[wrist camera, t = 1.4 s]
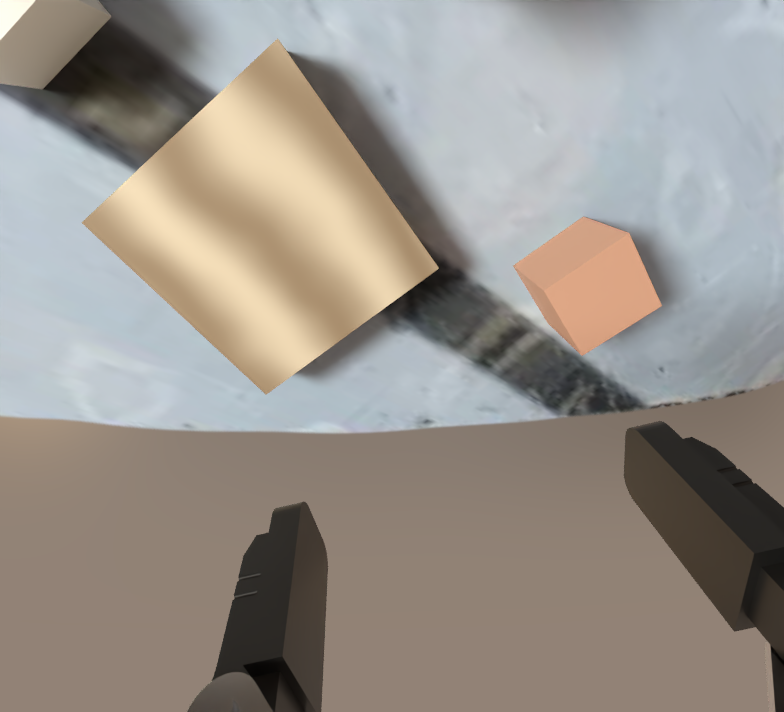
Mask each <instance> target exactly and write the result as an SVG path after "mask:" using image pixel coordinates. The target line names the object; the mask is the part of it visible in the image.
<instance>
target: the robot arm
mask: <svg viewBox="0 0 784 712" xmlns="http://www.w3.org/2000/svg"><path fill="white" fill-rule="evenodd" d="M624 463H625V465H624V478H625V483H626V486H627V488H628V491H629V493H630V495H631V497H632V499H633V500H634V501H635V503H636V504H637V505H638V507H639V508H640V509H641V511H642V512H643V513H644V514H645V516H646V517H647V518H648V519H649V521H650V522H651V524H652V525H653V526H654V527H655V529H656V530H657V531H658V533H659V534H660V535H661V537H662V538H663V539H664V541H665V542H666V543H667V544H668V546H669V547H670V548H671V550H672V551H673V552H674V554H675V555H676V556H677V557H678V559H679V560H680V561H681V563H682V564H683V565H684V567H685V568H686V569H687V570H688V572H689V573H690V574H691V576H692V577H693V578H694V579H695V581H696V582H697V584H699V586H700V587H701V589H702V590H703V591H704V593H705V594H706V595H707V596H708V598H709V599H710V600H711V602H712V603H713V604H714V606H715V607H716V608H717V610H718V611H719V612H720V614H721V615H722V616H723V617H724V619H725V620H726V621H727V622H728V624H729V625H730V627H731V628H732V629H733V630H734V631H739V630H744V629H748V628H753V627H756V628H757V629H758V630H759V631H760V632H761V634H762V635H763V636H764V637H765V639H766V640H767V641H766V645H765V658H766V673H767V688H768V703H769V712H784V507H782V506H781V505H780V504H779V503H778V502H777V501H776V500H774V499H773V498H772V497H771V496H770V495H769V494H768V493H766V492H765V491H764V490H763V489H762V488H761V487H759V486H758V485H757V484H756V483H755V484H753V482H752V480H751V479H750V478H749V477H748V476H747V475H746V474H745V473H743V472H742V471H741V470H740V469H737V468H736V466H735V465H734V464H733V463H732V462H731V461H730V460H728V459H727V458H726V457H725V456H724V455H722V453H720V452H719V451H718V450H717V449H715V448H713V447H711V446H709V445H707V444H705V443H703V442H701V441H699V440H697V439H695V438H693V437H690V438H685V439H682V438H681V437H680V436H679V435H678V434H677V433H676V432H675V431H674V430H673V429H672V428H670V427H669V426H668V425H667V424H666V423H664V422H662V421H658V422H654V423H649V424H645V425H641V426H636V427H632V428H629V429H627V431H626V437H625V462H624ZM327 574H328V561H327V553H326V548H325V545H324V542H323V539H322V537H321V534H320V532H319V530H318V527H317V525H316V523H315V521H314V518H313V516H312V514H311V511H310V509H309V507H308V505H307V503H306V502H301V503H297V504H292V505H289V506H284V507H279V508H276V509H274V511H273V514H272V518H271V524H270V529H269V533H265V534H261V535H257V536H256V537H255V539H254V540H253V542H252V544H251V545H250V547H249V548H248V550H247V551H246V553H245V555H244V556H243V561H242V565H241V569H240V573H239V581H238V582H237V585H236V589H235V593H234V597H235V599H234V600H233V602H232V606H231V610H230V614H229V618H228V622H227V626H226V631H225V634H224V638H223V642H222V647H221V651H220V655H219V659H218V663H217V667H216V671H215V674H214V677H213V679H212V682H210V683H209V684H208V685H207V686H206V687H205V688H204V689H203V690H202V691H201V692H200V693H199V694H198V695H197V696H196V698H195V699H194V701H193V702H192V704H191V705H190V707H189V709H188V711H187V712H321V702H322V681H323V661H324V638H325V617H326V596H327Z"/></svg>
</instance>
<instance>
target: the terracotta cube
mask: <svg viewBox="0 0 784 712" xmlns="http://www.w3.org/2000/svg"><path fill="white" fill-rule="evenodd" d="M513 267H514V268H515V270H516V271H517V273H518V275H519V276H520V278H521V280H522V281H523V283H524V285H525V286H526V288H527V290H528V291H529V293H530V295H531V296H532V298H533V299H534V301H535V303H536V304H537V306H538V308H539V309H540V311H541V313H542V314H543V316H544V318H545V319H546V321H547V323H548V324H549V325H550V326H551V327H552V328H553V329H555V330H556V331H557V332H558V333H559V334H560V335H561V336H562V337H563V338H564V339H565V340H566V341H567V342H568V343H569V344H570V345H571V346H572V347H573V348H574V349H575V350H576V351H578V352H579V353H580V354H581V355H582V356H583V355H584V354H586V353H587V352H589V351H591V350H592V349H594V348H595V347H597V346H599V345H600V344H602V343H603V342H605V341H607V340H608V339H610V338H611V337H613V336H615V335H616V334H618V333H619V332H621V331H623V330H624V329H626V328H627V327H629V326H631V325H632V324H634V323H635V322H637V321H639V320H640V319H642V318H643V317H645V316H647V315H648V314H650V313H651V312H653V311H655V310H656V309H658V308H659V307H661V306H662V305H661V302H660V300H659V298H658V296H657V293H656V291H655V289H654V287H653V285H652V282H651V280H650V278H649V276H648V273H647V271H646V269H645V267H644V265H643V262H642V260H641V258H640V256H639V254H638V251H637V249H636V247H635V245H634V242H633V240H632V238H631V236H630V234H629V233H628V232H625V231H622V230H619V229H617V228H614V227H611V226H608V225H606V224H603V223H600V222H597V221H595V220H592V219H589V218H586V217H582V218H581V219H579V220H578V221H576V222H575V223H574V224H572V225H571V226H569V227H568V228H566V229H565V230H564V231H562V232H561V233H559V234H558V235H556V236H555V237H553V238H552V239H551V240H549V241H548V242H546V243H545V244H543V245H542V246H541V247H539V248H538V249H536V250H535V251H533V252H532V253H531V254H529V255H528V256H526V257H525V258H523V259H522V260H521V261H519V262H518V263H516V264H515V265H513Z"/></svg>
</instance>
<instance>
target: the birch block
mask: <svg viewBox="0 0 784 712" xmlns="http://www.w3.org/2000/svg"><path fill="white" fill-rule="evenodd" d="M82 224H84V225H85V226H86V227H87V228H88V229H89V230H90V231H91V232H92V233H93V234H94V235H95V236H96V237H97V238H99V239H100V240H101V241H102V242H103V243H104V244H105V245H106V246H107V247H108V248H109V249H110V250H111V251H112V252H114V253H115V254H116V255H117V256H118V257H119V258H120V259H121V260H122V261H123V262H124V263H125V264H126V265H128V266H129V267H130V268H131V269H132V270H133V271H134V272H135V273H136V274H137V275H138V276H139V277H140V278H141V279H143V280H144V281H145V282H146V283H147V284H148V285H149V286H150V287H151V288H152V289H153V290H154V291H155V292H156V293H158V294H159V295H160V296H161V297H162V298H163V299H164V300H165V301H166V302H167V303H168V304H169V305H170V306H172V307H173V308H174V309H175V310H176V311H177V312H178V313H179V314H180V315H181V316H182V317H183V318H184V319H185V320H187V321H188V322H189V323H190V324H191V325H192V326H193V327H194V328H195V329H196V330H197V331H198V332H199V333H200V334H202V335H203V336H204V337H205V338H206V339H207V340H208V341H209V342H210V343H211V344H212V345H213V346H214V347H215V348H217V349H218V350H219V351H220V352H221V353H222V354H223V355H224V356H225V357H226V358H227V359H228V360H229V361H231V362H232V363H233V364H234V365H235V366H236V367H237V368H238V369H239V370H240V371H241V372H242V373H243V374H244V375H246V376H247V377H248V378H249V379H250V380H251V381H252V382H253V383H254V384H255V385H256V386H257V387H258V388H259V389H261V390H262V391H263V392H264V393H265V394H268V393H269V392H270V391H272V390H273V389H274V388H276V387H277V386H279V385H280V384H281V383H283V382H284V381H285V380H287V379H288V378H290V377H291V376H292V375H294V374H295V373H296V372H298V371H299V370H301V369H302V368H303V367H305V366H306V365H307V364H309V363H310V362H311V361H313V360H314V359H316V358H317V357H318V356H320V355H321V354H322V353H324V352H325V351H327V350H328V349H329V348H331V347H332V346H333V345H335V344H336V343H338V342H339V341H340V340H342V339H343V338H344V337H346V336H347V335H348V334H350V333H351V332H353V331H354V330H355V329H357V328H358V327H359V326H361V325H362V324H364V323H365V322H366V321H368V320H369V319H370V318H372V317H373V316H375V315H376V314H377V313H379V312H380V311H381V310H383V309H384V308H385V307H387V306H388V305H390V304H391V303H392V302H394V301H395V300H396V299H398V298H399V297H401V296H402V295H403V294H405V293H406V292H407V291H409V290H410V289H412V288H413V287H414V286H416V285H417V284H418V283H420V282H421V281H422V280H424V279H425V278H427V277H428V276H429V275H431V274H432V273H433V272H435V271H436V270H438V269H439V268H438V266H437V265H436V263H435V262H434V260H433V259H432V257H431V256H430V254H429V253H428V252H427V250H426V249H425V247H424V246H423V245H422V243H421V242H420V240H419V239H418V237H417V236H416V235H415V233H414V232H413V230H412V229H411V227H410V226H409V225H408V223H407V222H406V220H405V219H404V217H403V216H402V215H401V213H400V212H399V210H398V209H397V207H396V206H395V205H394V203H393V202H392V200H391V199H390V197H389V196H388V195H387V193H386V192H385V190H384V189H383V188H382V186H381V185H380V183H379V182H378V180H377V179H376V178H375V176H374V175H373V173H372V172H371V170H370V169H369V168H368V166H367V165H366V163H365V162H364V160H363V159H362V158H361V156H360V155H359V153H358V152H357V150H356V149H355V148H354V146H353V145H352V143H351V142H350V141H349V139H348V138H347V136H346V135H345V133H344V132H343V131H342V129H341V128H340V126H339V125H338V123H337V122H336V121H335V119H334V118H333V116H332V115H331V113H330V112H329V111H328V109H327V108H326V106H325V105H324V103H323V102H322V101H321V99H320V98H319V96H318V95H317V93H316V92H315V91H314V89H313V88H312V86H311V85H310V84H309V82H308V81H307V79H306V78H305V76H304V75H303V74H302V72H301V71H300V69H299V68H298V66H297V65H296V64H295V62H294V61H293V59H292V58H291V56H290V55H289V54H288V52H287V51H286V49H285V48H284V47H283V45H282V44H281V43H280V41H279V40H278V39H277V40H276V41H275V42H273V43H272V44H271V45H270V46H269V47H268V48H267V49H266V50H265V51H264V52H263V53H262V54H261V55H260V56H259V57H258V58H256V59H255V60H254V61H253V62H252V63H251V64H250V65H249V66H248V67H247V68H246V69H245V70H244V71H243V72H242V73H240V74H239V75H238V76H237V77H236V78H235V79H234V80H233V81H232V82H231V83H230V84H229V85H228V86H227V87H226V88H225V89H223V90H222V91H221V92H220V93H219V94H218V95H217V96H216V97H215V98H214V99H213V100H212V101H211V102H210V103H209V104H207V105H206V106H205V107H204V108H203V109H202V110H201V111H200V112H199V113H198V114H197V115H196V116H195V117H194V118H193V119H192V120H190V121H189V122H188V123H187V124H186V125H185V126H184V127H183V128H182V129H181V130H180V131H179V132H178V133H177V134H176V135H174V136H173V137H172V138H171V139H170V140H169V141H168V142H167V143H166V144H165V145H164V146H163V147H162V148H161V149H160V150H159V151H157V152H156V153H155V154H154V155H153V156H152V157H151V158H150V159H149V160H148V161H147V162H146V163H145V164H144V165H143V166H141V167H140V168H139V169H138V170H137V171H136V172H135V173H134V174H133V175H132V176H131V177H130V178H129V179H128V180H127V181H126V182H124V183H123V184H122V185H121V186H120V187H119V188H118V189H117V190H116V191H115V192H114V193H113V194H112V195H111V196H110V197H108V198H107V199H106V200H105V201H104V202H103V203H102V204H101V205H100V206H99V207H98V208H97V209H96V210H95V211H94V212H93V213H91V214H90V215H89V216H88V217H87V218H86V219H85V220H84V221H83V222H82Z"/></svg>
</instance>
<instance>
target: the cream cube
mask: <svg viewBox="0 0 784 712" xmlns="http://www.w3.org/2000/svg"><path fill="white" fill-rule="evenodd" d="M111 17H112V16H111V15H110V14H109V13H108V11H107V10H106V9H105V8H104V7H103V5H102V4H101V3H100V2H99V1H98V0H0V83H1V84H8V85H15V86H23V87H30V88H37V89H43V88H44V87H45V86H46V85H47V84H48V83H49V82H50V81H51V80H52V79H53V78H54V77H55V76H56V75H57V74H58V73H59V72H60V71H61V69H62V68H63V67H64V66H65V65H66V64H67V63H68V62H69V61H70V60H71V59H72V58H73V57H74V56H75V55H76V54H77V53H78V52H79V50H80V49H81V48H82V47H83V46H84V45H85V44H86V43H87V42H88V41H89V40H90V39H91V38H92V37H93V36H94V35H95V34H96V33H97V32H98V30H99V29H100V28H101V27H102V26H103V25H104V24H105V23H106V22H107V21H108V20H109V19H110V18H111Z"/></svg>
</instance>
